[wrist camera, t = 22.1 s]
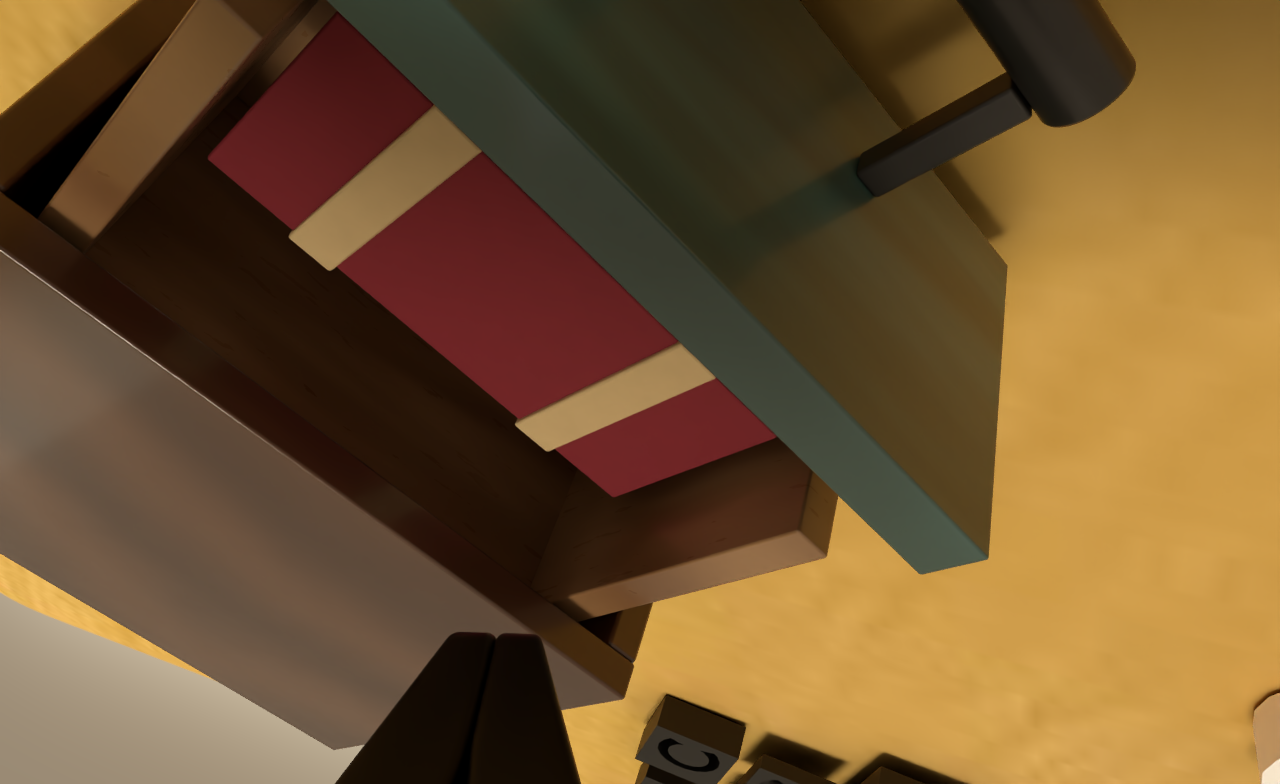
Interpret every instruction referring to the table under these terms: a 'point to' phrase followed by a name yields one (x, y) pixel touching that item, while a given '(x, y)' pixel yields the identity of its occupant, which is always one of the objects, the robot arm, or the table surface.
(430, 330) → the block
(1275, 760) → the black small parts set
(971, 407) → the drawer
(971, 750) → the table surface
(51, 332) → the cabinet
